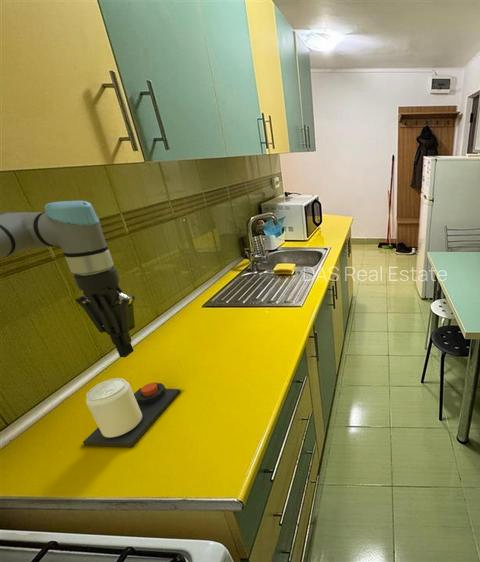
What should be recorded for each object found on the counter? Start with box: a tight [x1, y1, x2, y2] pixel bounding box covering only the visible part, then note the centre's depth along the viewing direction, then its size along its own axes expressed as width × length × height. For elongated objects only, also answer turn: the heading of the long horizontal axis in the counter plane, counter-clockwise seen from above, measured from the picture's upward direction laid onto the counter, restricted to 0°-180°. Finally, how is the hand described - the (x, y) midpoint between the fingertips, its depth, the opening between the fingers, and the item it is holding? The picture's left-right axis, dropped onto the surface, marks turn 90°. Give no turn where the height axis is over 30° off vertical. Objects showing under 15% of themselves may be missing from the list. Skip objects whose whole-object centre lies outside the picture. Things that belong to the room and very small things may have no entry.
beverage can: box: [85, 377, 142, 438], centre depth 74 cm, size 8×8×12 cm
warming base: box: [82, 382, 181, 448], centre depth 80 cm, size 18×12×3 cm, turn 178°
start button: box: [141, 382, 158, 397], centre depth 85 cm, size 4×4×2 cm
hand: (126, 353), depth 79 cm, fingers closed
